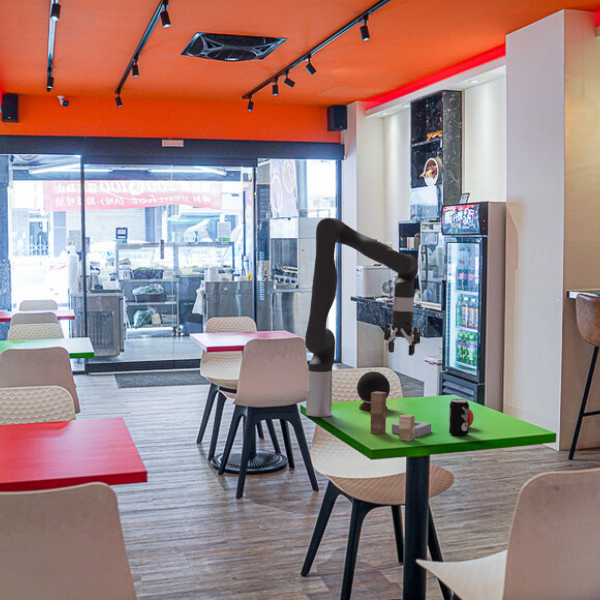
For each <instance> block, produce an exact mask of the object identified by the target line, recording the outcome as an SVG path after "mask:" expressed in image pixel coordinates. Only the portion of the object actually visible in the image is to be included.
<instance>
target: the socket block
mask: <svg viewBox="0 0 600 600" xmlns="http://www.w3.org/2000/svg"><path fill="white" fill-rule="evenodd" d="M395 433H396V435H399V421H398V422H395V423H392V424H391V434H395ZM430 433H432V423H430V422H424V421H423V422H422V421H417V420H415V436H414V438H419V437H422V436H424V435H426V434H430Z"/></svg>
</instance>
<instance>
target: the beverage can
mask: <svg viewBox="0 0 600 600" xmlns="http://www.w3.org/2000/svg"><path fill="white" fill-rule="evenodd" d="M469 409H470V403H469V400H468V399H464V398H452V399H450V402H449V410H448V411H449V416H448V417H449V419H448V433H449V435H451V436H454V437H467V435H468V434H469V430H470V429H469V428H470V426H469Z"/></svg>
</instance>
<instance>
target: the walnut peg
mask: <svg viewBox="0 0 600 600" xmlns="http://www.w3.org/2000/svg"><path fill="white" fill-rule="evenodd" d="M386 407H387V398H386V392H378V391H376V392H372V393H371V412H370V433H371V434H375V433H376V435H382V433H383V434H385V433H386V432H387V430H386V428H387V426H386V425H387V424H386V423H387V422H386V421H387V410H386Z"/></svg>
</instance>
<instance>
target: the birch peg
mask: <svg viewBox="0 0 600 600" xmlns="http://www.w3.org/2000/svg"><path fill="white" fill-rule="evenodd" d="M398 417H399V420H398V422H399V434H398V440H399V439H400V441H405V440H406V441H407V442H410V441H412V440H415V437H414V436H415V421H416V415H415V414H407V413H403V414H401V415H398Z"/></svg>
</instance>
